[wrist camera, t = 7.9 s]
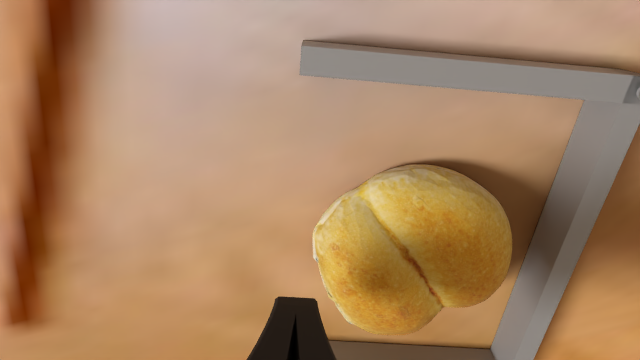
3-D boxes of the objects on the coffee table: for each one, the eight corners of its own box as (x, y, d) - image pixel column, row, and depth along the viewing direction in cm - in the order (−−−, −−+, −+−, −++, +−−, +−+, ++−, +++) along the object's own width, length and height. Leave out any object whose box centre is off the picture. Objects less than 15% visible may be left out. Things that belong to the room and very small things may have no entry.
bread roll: (517, 254, 20) (562, 311, 16) (363, 321, 22) (373, 386, 18) (458, 121, 17) (498, 154, 13) (285, 211, 19) (278, 263, 15)
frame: (502, 362, 23) (660, 669, 12) (282, 350, 22) (254, 662, 12) (620, 69, 16) (1229, 207, 5) (303, 40, 15) (276, 131, 5)
